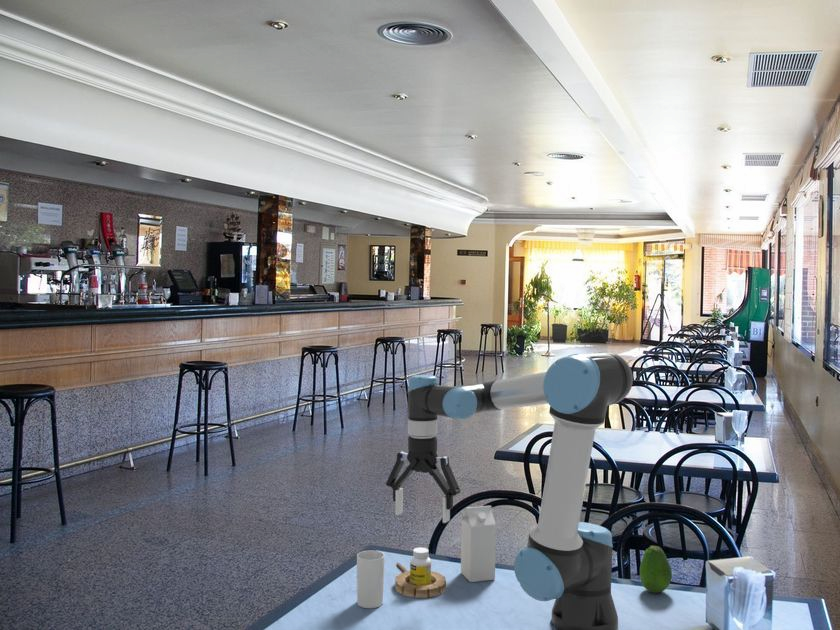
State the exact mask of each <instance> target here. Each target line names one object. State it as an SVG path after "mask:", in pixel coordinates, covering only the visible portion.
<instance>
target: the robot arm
mask: <svg viewBox="0 0 840 630" xmlns="http://www.w3.org/2000/svg"><path fill="white" fill-rule="evenodd" d="M633 380H634V377H633V371H632V369H631V367H630V365H629V364H628V362H627V361H626V360H625V359H624V358H623V357H621V356H620V355H619V354H616V353H613V352H607V351H602V352H593V353H590V352H589V353H581V354H580V353H574V354H573V353H572V354H570V355H566V356H564V357H561V358H558V359H556V360H555V361H554V362H553V363H551V365H550V366H548V369H547V370H546V371H543V372H538V373H531V374H526V375H525V374H524V375H521V376H514V377H510V378H505V379H504V378H503V379H498V380H492V381H486V382H485V381H484V382H478V383H473V384H472V383H471V384H464V385H455V386H450V385H439V382H438V377H437V376H436V375H433V374H432V375H431V374H415V375H412V376H410V377H409V378H408V384H407V385H408V387H407V395H408V396H407V400H408V401H407V410H408V411H407V415H408V416H407V434H408V435H409V436H408V438H407V450H408V452H406V451H404V450H402V451H399V452H397V454H396V461H395V463H394V466H393V468H392V470H391V471H390V474H389V476H388V478H387V480H386V482H385V485H386V487H389V488H391V489H392V500H393V502H394V503H395V516H400V515H402V514H404V488H402V485H403V484H404V483H405V482H406V480H407V479H408V478H409V477H410V476H411V474H412V473H413V472H414V471H415V472H416V473H420V472H421V473H423V474H427V473H428V474H429V475H430V476H431V477H432V478H433V480H434V481H435V483H436V484H437V486H438V487H439V488H440V489H441V492H442V493H443V494H444V495H443V496H442V523H443V524H446V523H449V521H450V520H451V510H452V509H453V508H454V496H457V495H458V494H460V493H461V489H460V486H459V485H458V481H457V480H456V477H455V475H454V473H453V470H452V468H451V465H450V459H449V456H448V455H445V456H438V437H437V435H438V416H440V417H446V418H451V419H454V420H468V419H469V418H471V417H472V416H473V415H476V414H481V413H487V412H488V413H489V412H496V411H501V410H502V411H503V410H507V409H515V408H516V409H518V408H524V407H531V406H533V407H534V406H539V405H546V404H548V405H549V412H548V413H549V415H550V416H551V418H552V419H553V421H554V426H553V431H552V437H551V444H550V450H549V455H548V456H549V457H548V460H547V461H548V462H547V468H546V475H545V479H544V480H545V481H544V487H543V492H542V499H541V504H540V510H539V517H538V523H537V524H536V525H533V526H532V527H531V528H530V529H529V533H528V540H527V544H526V547H523V548H522V549H521V550H520V551H518V553H517V554H516V555H515V558H514V562H513V563H514V564H513V569H514V574H515V578H516V580H517V582H518V583H519V585H520V587H521V589H522V590H523V591H524V592H525V594H527V595H528V596H529V597H531V598H532V599H534V600H537V601H539V602H549V601H553V600H555V601H554V603H553V606H552V608H551V609H552V610H551V623H552V625H553V626H554V627H555V628H556V629H558V630H619V629H618V628H619V616H618V613H617V609H616V606H615V602H614V599H613V596H612V569H613V568H612V567H613V548H614V545H613V535H612V532H611V531H610V530H609V529H608V528H606V527H604V526H601V525H599V524H594V523H589V522H584V521H580V520H581V515H582V509H583V502H584V496H585V491H586V486H587V479H588V475H589V469H590V464H591V463H590V462H591V457H592V451H593V446H594V440H595V434H596V430H597V429H598V428H599V427H601V426H602V425H604V423H605V419H606V414H607V409H608V406H612V405H616V404H618V403H620V402H621V401H622V400H624V399H625V398H626V397H627V396H628V395H629V393H630V391H631V389H632V386H633ZM405 461H408V462H409V464H408V466H407V467H406V468H405V469H404V471H403V472H402V474H401V475H400V476H399V474H400V472H401V470H402V468H403V465H404V463H405ZM437 463H438V465H439V466H440V467H441V471H442V473H441V471H440V469H439V467H438V465H437ZM398 476H399V477H398Z"/></svg>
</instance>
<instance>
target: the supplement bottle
mask: <svg viewBox="0 0 840 630" xmlns="http://www.w3.org/2000/svg"><path fill="white" fill-rule="evenodd" d="M429 553H430V552H429V549H428V548H426V547H415V548H413V550H412V555H413V557H412V558H410V561H409V563H410V564H409V565H410V566H409V567H410V568H409V569H410V570H409V571H410V583H409V584H412V585H416V586H426V585H431V584H432V583H431V571H432V560H431V558H430V557H429V556H430V555H429Z"/></svg>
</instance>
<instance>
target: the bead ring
mask: <svg viewBox="0 0 840 630" xmlns="http://www.w3.org/2000/svg"><path fill="white" fill-rule="evenodd" d="M394 584H395V586H394V588H395V591H396V592H398V593H399V594H401V595H403V596H407V597H411V598H417V599H418V598H422V599H423V598H426V599H427V598H431V597H437V596H439V595H442V594H443V593H444V592H445V591H446V590H447V580H446V577H445V575H442V574H441V573H440V572H436V571H432V570H431V585H426V586H416V585H412V584H410V570H407V572H403V571H402V572H400V574H398V575H396V576H395V583H394Z"/></svg>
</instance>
